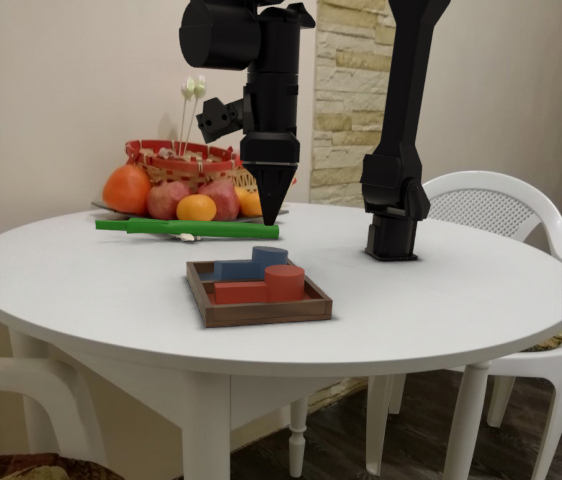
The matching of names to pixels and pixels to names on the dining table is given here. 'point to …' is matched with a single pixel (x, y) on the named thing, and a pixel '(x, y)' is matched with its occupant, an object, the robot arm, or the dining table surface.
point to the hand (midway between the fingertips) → (269, 217)
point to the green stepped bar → (191, 228)
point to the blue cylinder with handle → (251, 264)
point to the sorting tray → (217, 315)
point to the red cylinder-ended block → (264, 287)
